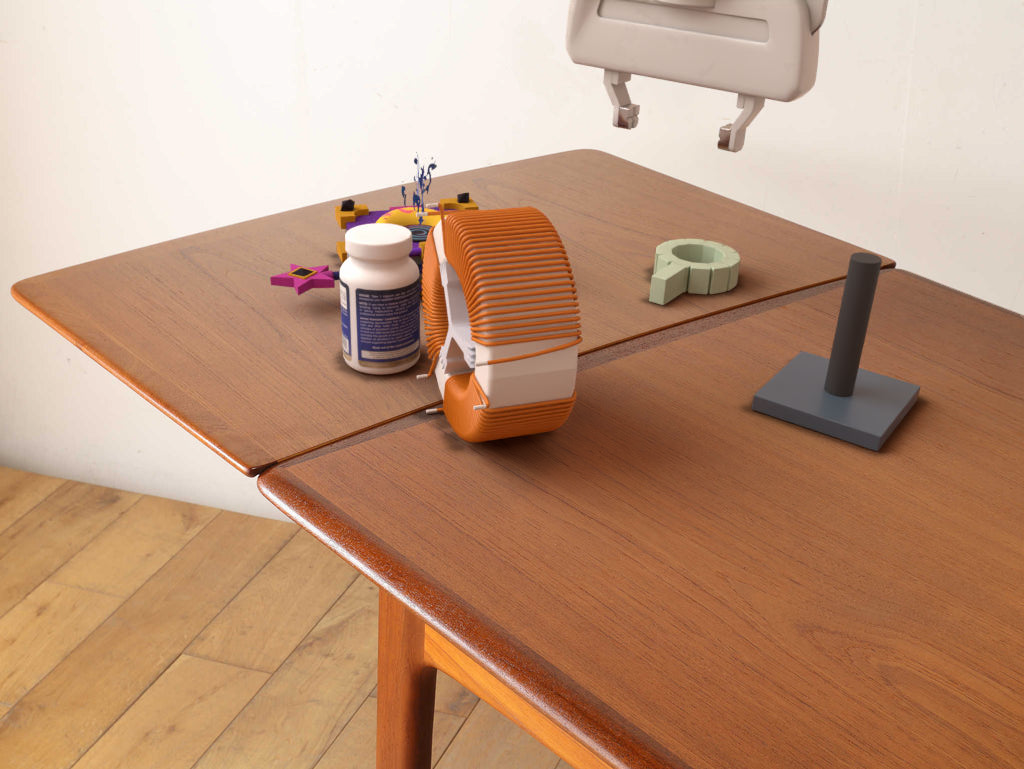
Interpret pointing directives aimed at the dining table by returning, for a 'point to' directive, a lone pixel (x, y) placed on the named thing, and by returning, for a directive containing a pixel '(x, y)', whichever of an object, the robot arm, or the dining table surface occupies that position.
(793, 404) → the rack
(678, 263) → the tabbed ring on plate
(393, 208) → the purple yellow toy
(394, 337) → the pill bottle
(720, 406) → the dining table surface
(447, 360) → the coil
